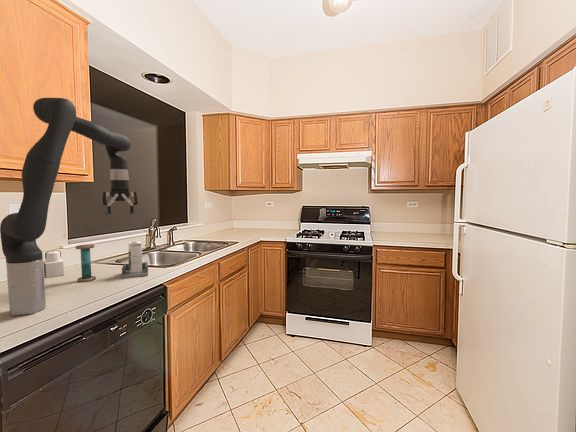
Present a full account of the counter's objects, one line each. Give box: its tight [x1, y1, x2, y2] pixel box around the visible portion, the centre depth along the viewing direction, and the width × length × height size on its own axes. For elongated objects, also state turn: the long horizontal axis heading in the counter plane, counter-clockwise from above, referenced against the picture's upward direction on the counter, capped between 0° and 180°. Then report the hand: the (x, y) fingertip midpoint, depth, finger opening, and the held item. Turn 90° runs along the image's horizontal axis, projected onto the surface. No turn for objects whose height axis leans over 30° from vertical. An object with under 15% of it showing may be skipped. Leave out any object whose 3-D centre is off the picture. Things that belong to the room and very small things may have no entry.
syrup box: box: [128, 241, 143, 273], centre depth 145 cm, size 6×6×14 cm
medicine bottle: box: [43, 250, 66, 279], centre depth 143 cm, size 7×7×12 cm
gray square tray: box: [121, 261, 149, 279], centre depth 145 cm, size 11×11×4 cm
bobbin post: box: [75, 243, 97, 283], centre depth 135 cm, size 7×7×16 cm
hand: (121, 214), depth 139 cm, fingers open, 8 cm apart
